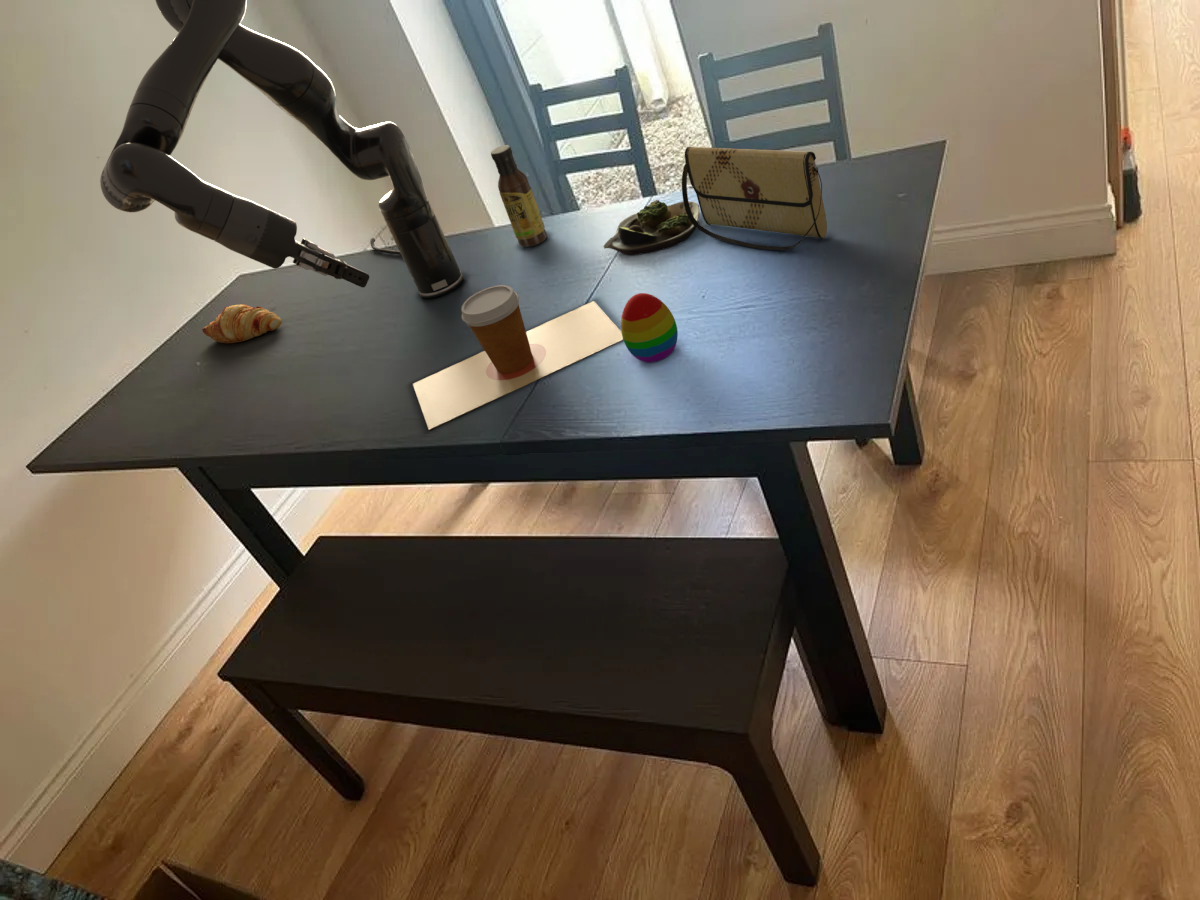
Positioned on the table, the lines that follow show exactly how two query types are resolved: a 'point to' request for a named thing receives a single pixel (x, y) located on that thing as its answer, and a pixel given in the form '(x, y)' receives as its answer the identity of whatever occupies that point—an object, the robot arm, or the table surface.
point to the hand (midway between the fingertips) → (366, 281)
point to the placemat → (550, 351)
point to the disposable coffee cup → (499, 327)
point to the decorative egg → (648, 328)
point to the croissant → (241, 323)
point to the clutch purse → (756, 192)
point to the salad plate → (654, 228)
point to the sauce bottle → (518, 199)
